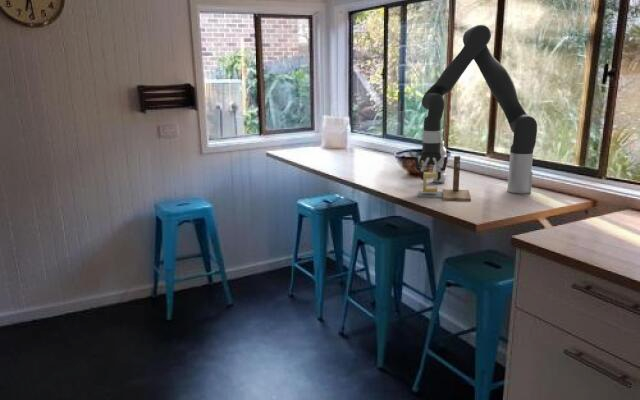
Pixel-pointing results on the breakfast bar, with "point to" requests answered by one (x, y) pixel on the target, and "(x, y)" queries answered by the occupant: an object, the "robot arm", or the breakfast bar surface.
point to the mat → (429, 194)
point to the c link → (425, 175)
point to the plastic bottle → (440, 162)
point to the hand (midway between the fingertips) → (430, 179)
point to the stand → (456, 186)
